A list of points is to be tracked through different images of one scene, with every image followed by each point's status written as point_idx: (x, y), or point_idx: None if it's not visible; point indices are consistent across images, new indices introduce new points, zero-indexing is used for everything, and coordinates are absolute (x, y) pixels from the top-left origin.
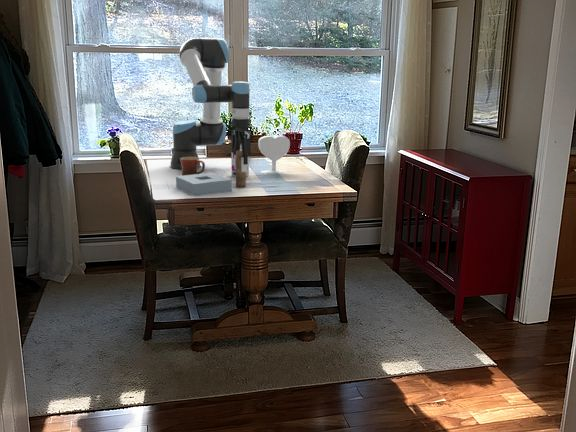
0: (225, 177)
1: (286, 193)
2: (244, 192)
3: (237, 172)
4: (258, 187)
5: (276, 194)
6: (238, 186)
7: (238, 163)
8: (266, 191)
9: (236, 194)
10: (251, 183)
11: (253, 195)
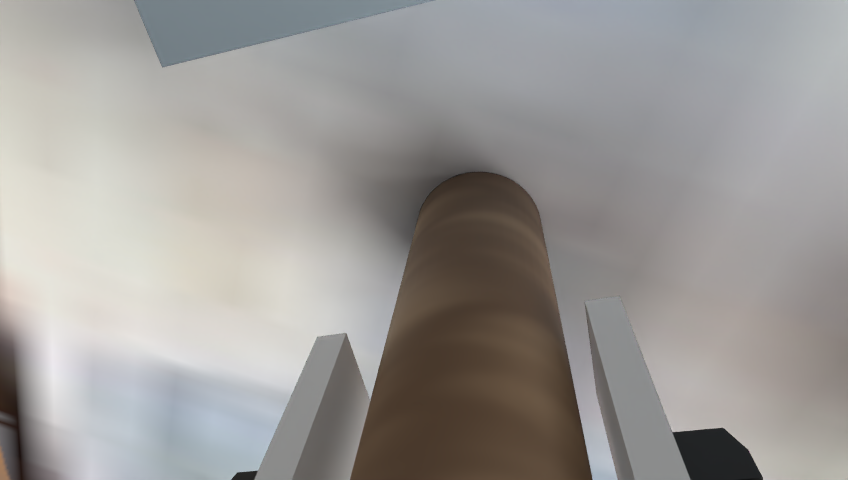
0: (371, 5)
1: (92, 475)
2: (150, 167)
3: (428, 278)
4: (366, 372)
5: (55, 403)
6: (436, 191)
7: (386, 412)
8: (179, 375)
9: (47, 39)
10: (581, 377)
11: (5, 211)
